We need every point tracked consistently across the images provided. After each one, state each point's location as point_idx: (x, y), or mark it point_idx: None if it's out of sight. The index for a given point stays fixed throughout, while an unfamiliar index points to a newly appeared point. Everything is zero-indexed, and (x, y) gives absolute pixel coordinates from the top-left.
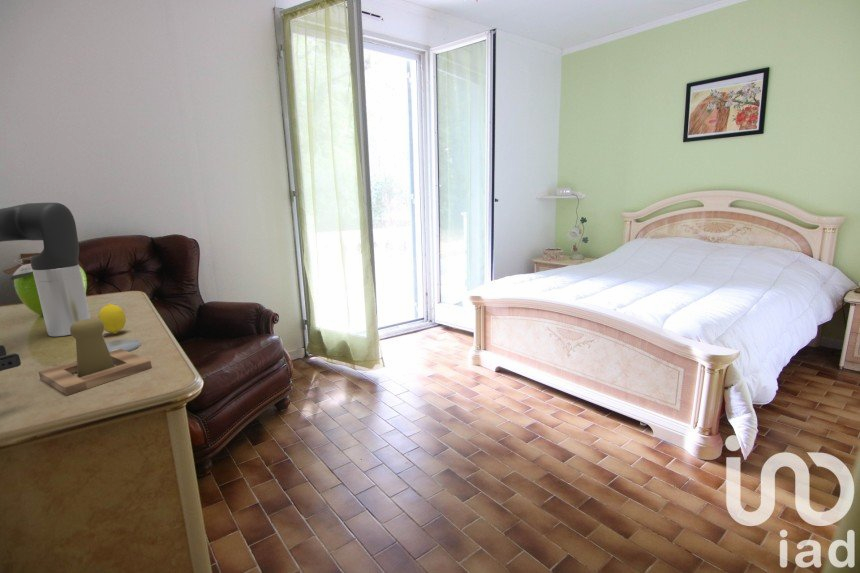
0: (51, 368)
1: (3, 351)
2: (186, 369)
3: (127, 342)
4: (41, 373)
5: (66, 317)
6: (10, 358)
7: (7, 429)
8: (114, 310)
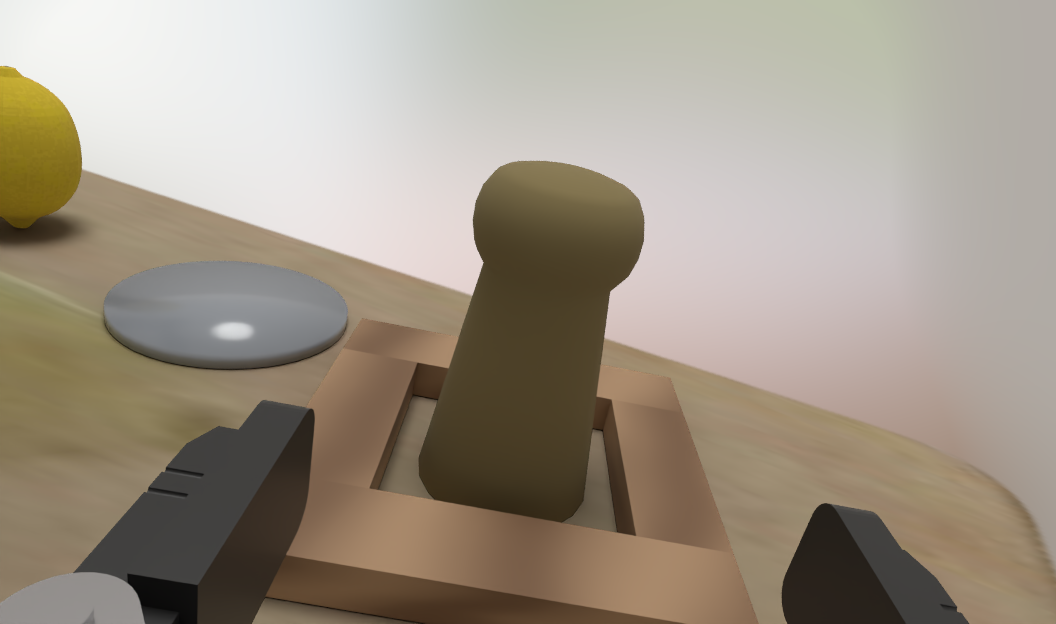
0: None
1: (306, 472)
2: (790, 401)
3: (251, 279)
4: (286, 555)
5: None
6: (936, 582)
7: None
8: (55, 108)
